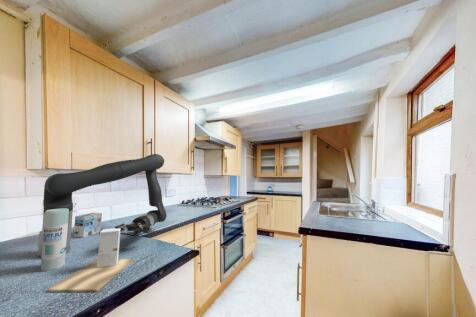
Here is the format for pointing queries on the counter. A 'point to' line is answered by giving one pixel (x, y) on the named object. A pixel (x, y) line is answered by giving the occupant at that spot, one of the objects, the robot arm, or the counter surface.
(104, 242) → the skincare box
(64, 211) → the spray paint can
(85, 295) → the counter surface
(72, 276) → the wooden board
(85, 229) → the light bulb box
